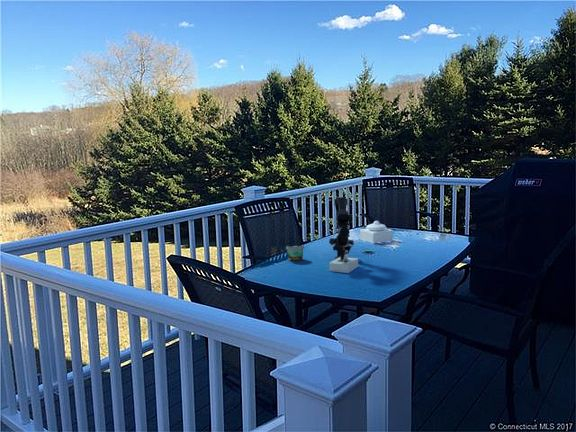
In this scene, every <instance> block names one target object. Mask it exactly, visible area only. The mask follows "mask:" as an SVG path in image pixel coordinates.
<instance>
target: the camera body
mask: <svg viewBox="0 0 576 432" xmlns="http://www.w3.org/2000/svg"><path fill="white" fill-rule="evenodd" d="M328 265H329V272H336V273H341V274H342V273H344V274H349V273H351V272H353V271H354V270H356V269H357V268H358V267H359V258H356V257H348V262H340V257H339V258H335V259H333V260H331V261H330V262H329V264H328Z"/></svg>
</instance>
